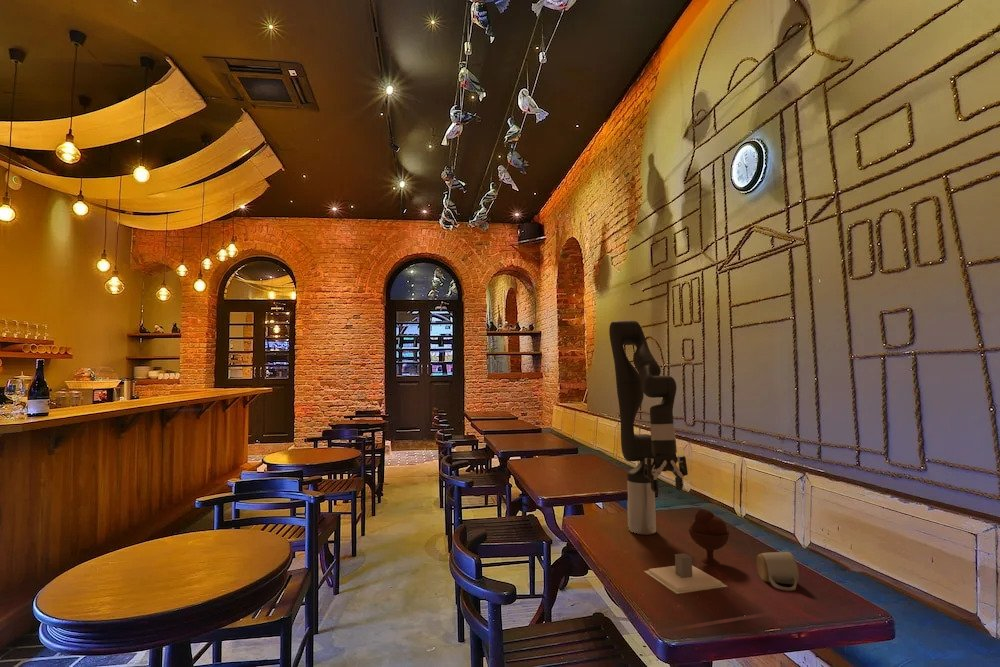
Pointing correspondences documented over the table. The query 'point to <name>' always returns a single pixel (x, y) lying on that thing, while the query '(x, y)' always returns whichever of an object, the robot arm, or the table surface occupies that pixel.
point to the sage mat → (684, 590)
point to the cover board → (684, 582)
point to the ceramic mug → (778, 569)
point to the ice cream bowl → (709, 534)
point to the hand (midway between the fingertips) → (667, 491)
